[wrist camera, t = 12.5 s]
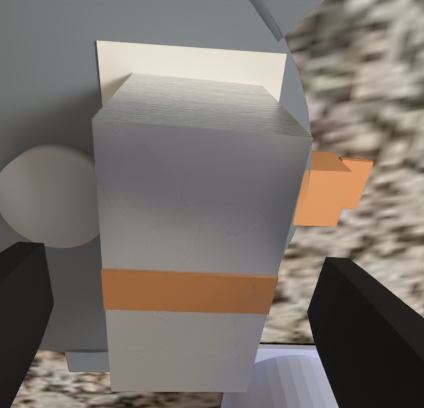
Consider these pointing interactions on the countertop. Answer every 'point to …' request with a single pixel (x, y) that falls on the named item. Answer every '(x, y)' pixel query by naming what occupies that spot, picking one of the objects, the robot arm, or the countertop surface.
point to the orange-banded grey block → (192, 227)
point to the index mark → (356, 180)
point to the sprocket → (96, 98)
